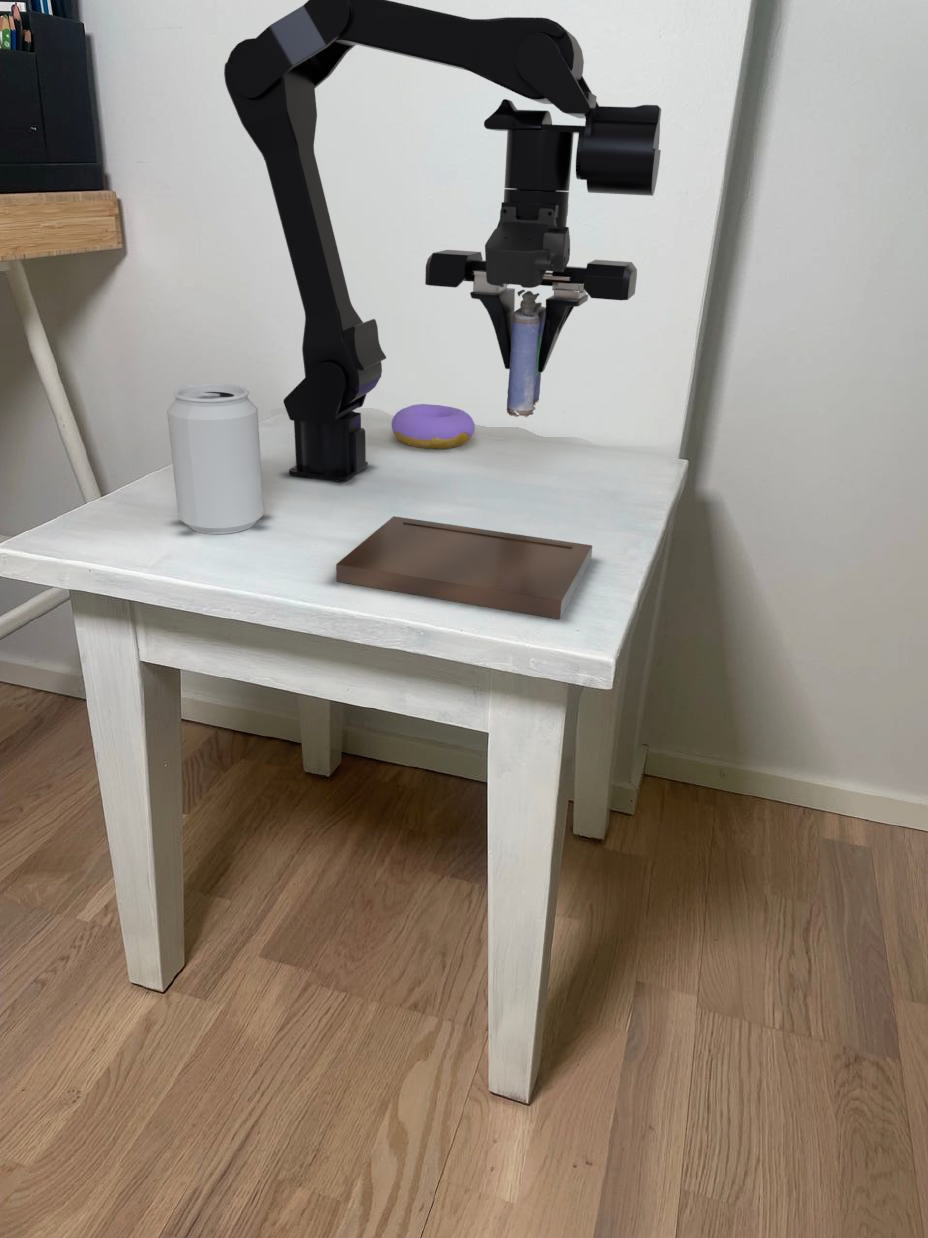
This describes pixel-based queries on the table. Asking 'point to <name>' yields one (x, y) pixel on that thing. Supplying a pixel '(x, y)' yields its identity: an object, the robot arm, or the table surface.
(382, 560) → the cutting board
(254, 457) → the can
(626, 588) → the table surface
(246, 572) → the table surface
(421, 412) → the donut
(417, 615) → the table surface
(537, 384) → the flask
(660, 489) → the table surface
